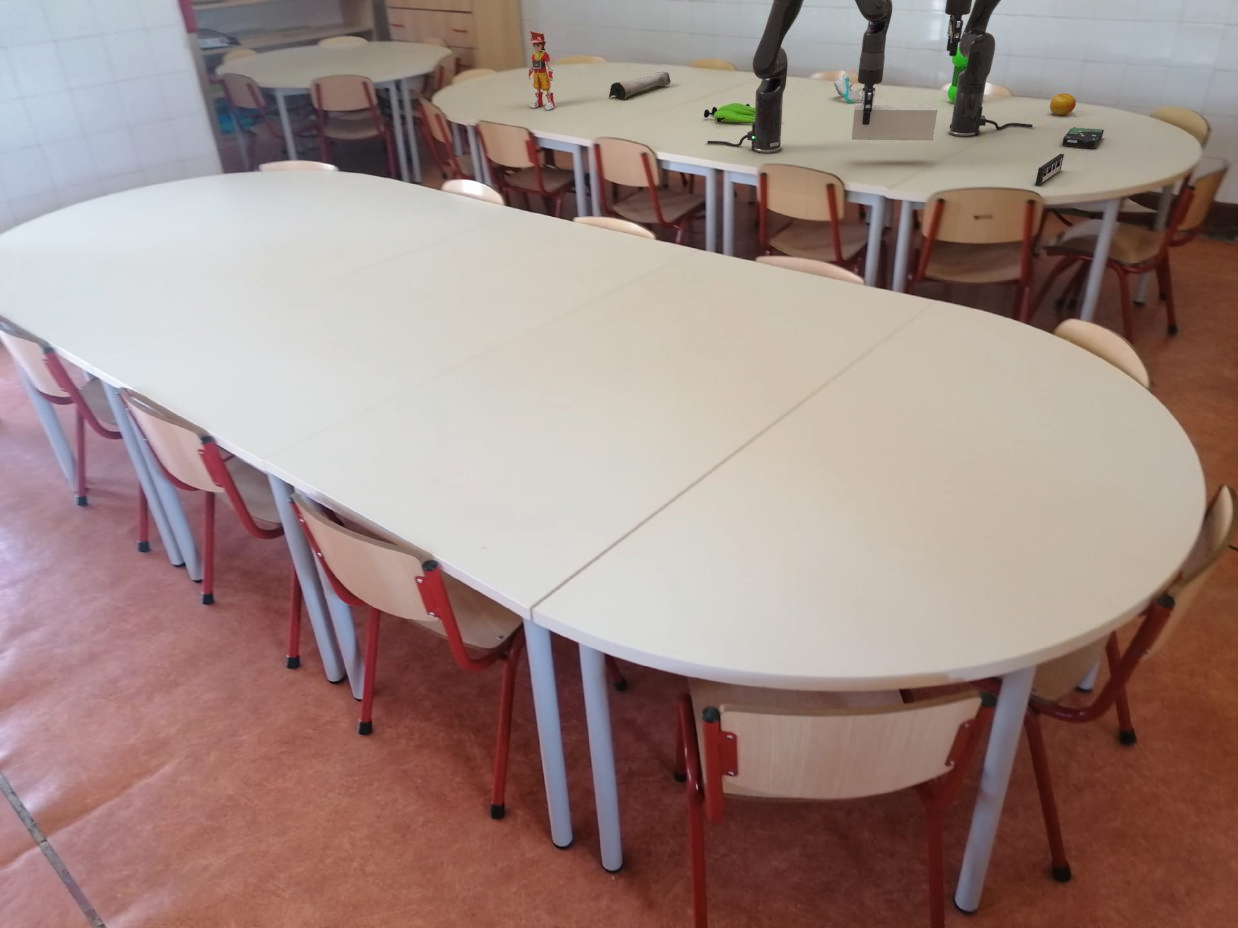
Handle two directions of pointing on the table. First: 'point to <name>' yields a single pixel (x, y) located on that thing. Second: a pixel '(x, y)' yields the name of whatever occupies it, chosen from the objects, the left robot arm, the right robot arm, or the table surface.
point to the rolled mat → (638, 84)
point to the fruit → (1062, 104)
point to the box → (895, 122)
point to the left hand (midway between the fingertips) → (865, 121)
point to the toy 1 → (541, 71)
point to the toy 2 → (733, 113)
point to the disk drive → (1083, 137)
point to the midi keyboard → (1049, 169)
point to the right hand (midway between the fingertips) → (951, 53)
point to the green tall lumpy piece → (956, 73)
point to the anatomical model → (847, 90)
